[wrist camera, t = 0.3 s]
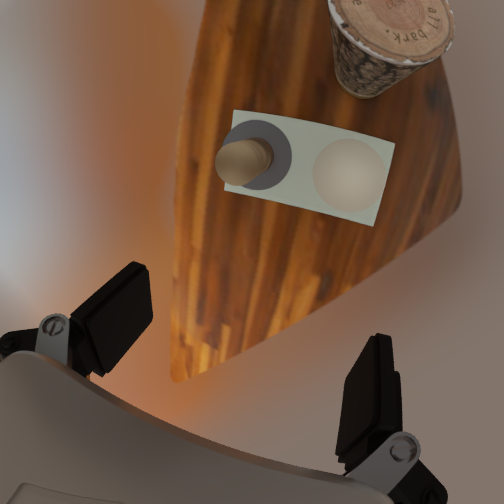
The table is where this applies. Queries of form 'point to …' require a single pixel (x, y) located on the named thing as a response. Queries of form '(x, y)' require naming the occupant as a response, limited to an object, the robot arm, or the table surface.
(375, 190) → the cream pad
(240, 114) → the board
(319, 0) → the table surface
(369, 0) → the brown bark cylinder
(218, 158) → the beige rounded cylinder
